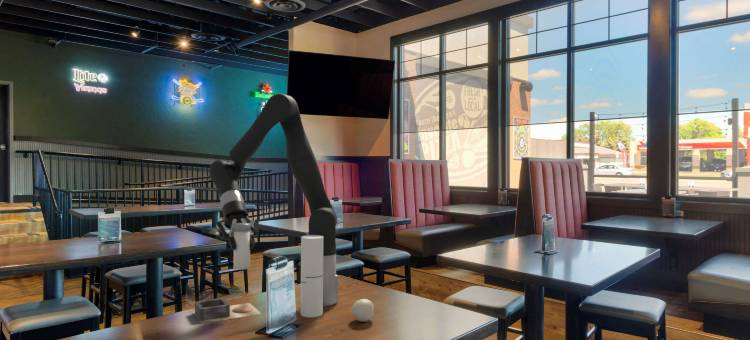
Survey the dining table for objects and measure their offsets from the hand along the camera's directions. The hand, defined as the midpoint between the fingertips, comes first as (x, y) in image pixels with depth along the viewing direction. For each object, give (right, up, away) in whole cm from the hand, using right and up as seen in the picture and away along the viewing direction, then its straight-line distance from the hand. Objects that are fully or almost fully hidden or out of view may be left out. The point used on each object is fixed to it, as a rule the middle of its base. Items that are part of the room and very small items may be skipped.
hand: (243, 247), depth 145 cm
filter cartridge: (-1, -7, +2) cm, 7 cm away
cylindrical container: (+21, -22, +4) cm, 31 cm away
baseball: (+38, -23, -2) cm, 44 cm away
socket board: (-5, -22, 0) cm, 22 cm away
